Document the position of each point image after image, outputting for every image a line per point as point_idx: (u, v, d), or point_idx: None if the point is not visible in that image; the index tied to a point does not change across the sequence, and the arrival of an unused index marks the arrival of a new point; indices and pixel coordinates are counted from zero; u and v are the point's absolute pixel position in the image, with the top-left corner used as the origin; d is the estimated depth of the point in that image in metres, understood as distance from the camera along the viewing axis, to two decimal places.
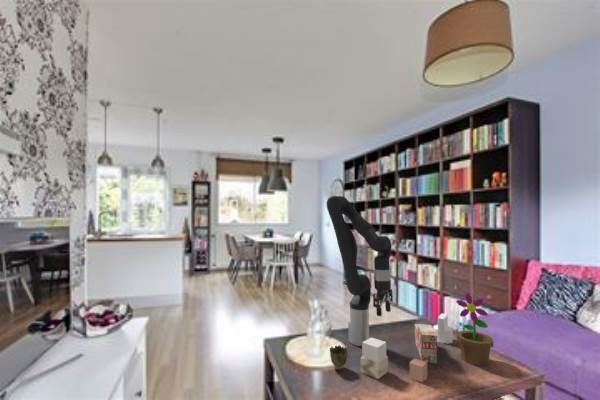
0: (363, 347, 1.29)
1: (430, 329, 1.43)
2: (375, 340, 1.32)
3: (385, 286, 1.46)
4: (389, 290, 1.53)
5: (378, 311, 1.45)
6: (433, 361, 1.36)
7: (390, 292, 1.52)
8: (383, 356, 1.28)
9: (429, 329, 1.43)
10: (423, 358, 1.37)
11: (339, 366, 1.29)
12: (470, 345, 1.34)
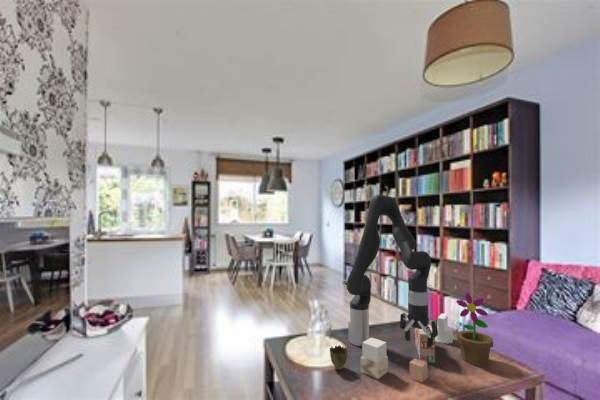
0: (363, 347, 1.29)
1: None
2: (375, 340, 1.31)
3: None
4: None
5: (432, 341, 1.22)
6: (431, 361, 1.37)
7: None
8: (383, 356, 1.28)
9: None
10: (421, 357, 1.38)
11: (339, 366, 1.29)
12: (470, 345, 1.34)
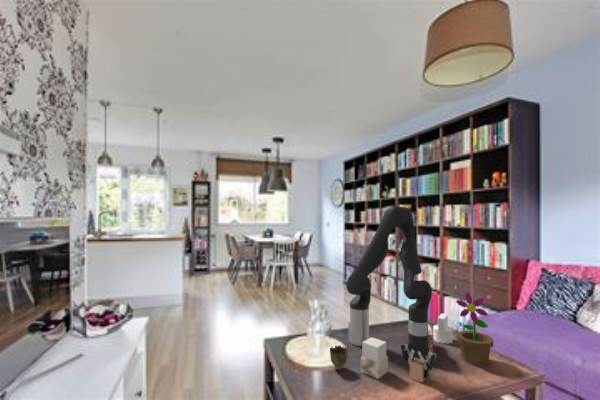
0: (363, 347, 1.29)
1: (428, 328, 1.43)
2: (375, 339, 1.32)
3: None
4: None
5: (428, 372, 1.22)
6: (429, 360, 1.37)
7: None
8: (383, 356, 1.28)
9: None
10: None
11: (339, 366, 1.29)
12: (470, 345, 1.34)
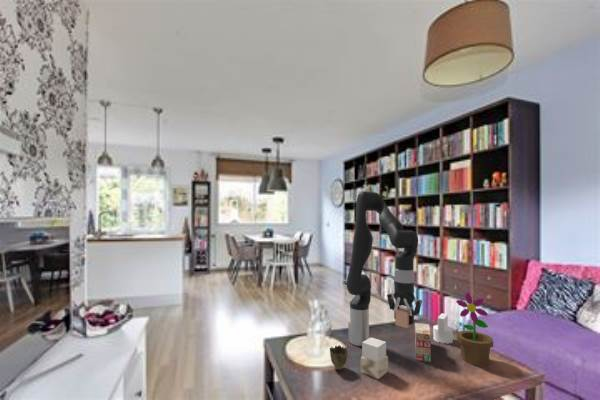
0: (363, 347, 1.29)
1: (426, 328, 1.44)
2: (374, 339, 1.32)
3: None
4: None
5: (413, 319, 1.25)
6: (427, 359, 1.38)
7: (393, 296, 1.31)
8: (383, 356, 1.28)
9: (425, 328, 1.44)
10: (417, 356, 1.39)
11: (339, 366, 1.29)
12: (470, 345, 1.34)
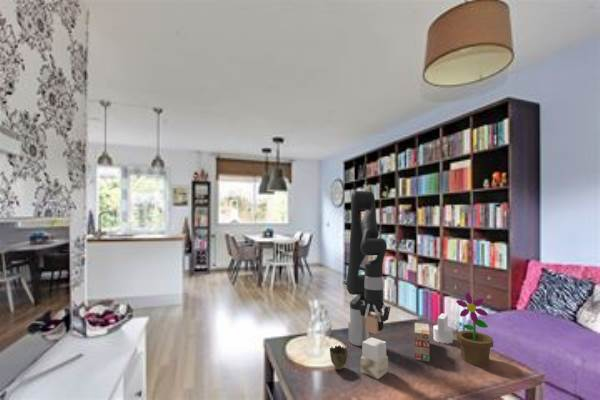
0: (363, 347, 1.29)
1: (425, 328, 1.44)
2: (375, 339, 1.32)
3: None
4: None
5: (382, 325, 1.27)
6: (426, 359, 1.38)
7: None
8: (383, 356, 1.28)
9: (424, 328, 1.44)
10: (416, 356, 1.39)
11: (339, 366, 1.29)
12: (470, 345, 1.34)
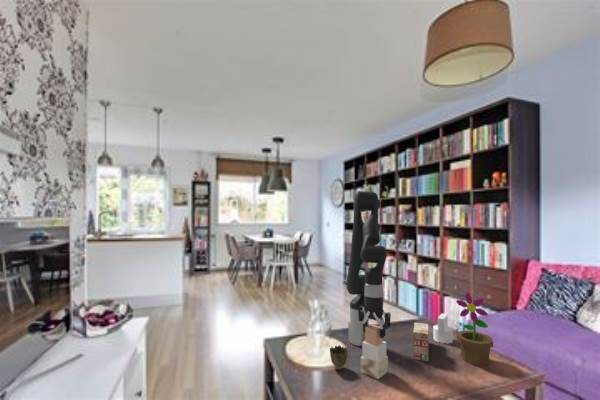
0: (363, 347, 1.29)
1: (424, 328, 1.44)
2: None
3: None
4: None
5: (384, 332, 1.26)
6: (424, 359, 1.38)
7: None
8: (383, 356, 1.28)
9: (423, 327, 1.44)
10: (415, 355, 1.40)
11: (339, 366, 1.29)
12: (470, 345, 1.34)
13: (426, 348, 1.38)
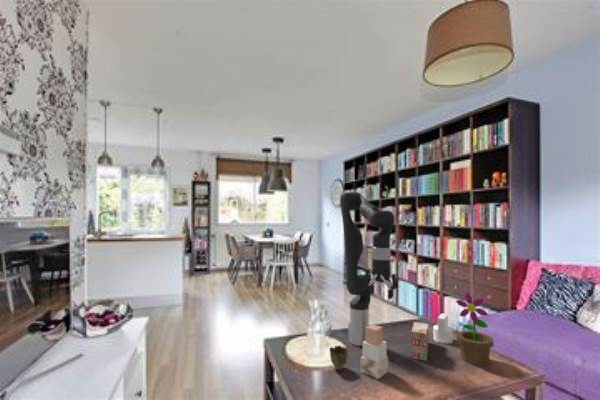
0: (363, 347, 1.29)
1: (423, 327, 1.45)
2: None
3: None
4: None
5: (392, 293, 1.30)
6: (423, 358, 1.39)
7: None
8: (383, 356, 1.28)
9: (422, 327, 1.45)
10: (413, 354, 1.40)
11: (339, 366, 1.29)
12: (470, 345, 1.34)
13: (424, 348, 1.39)
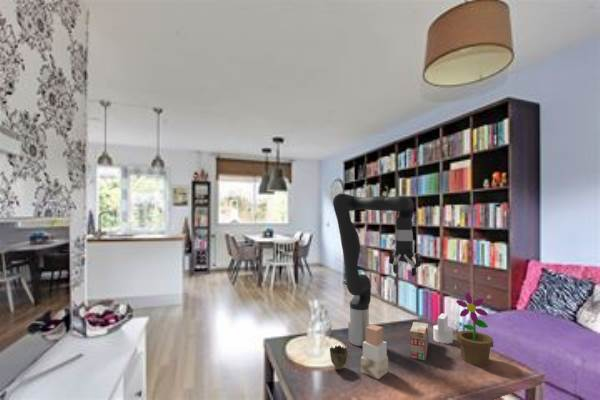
0: (364, 347, 1.29)
1: (422, 327, 1.45)
2: None
3: None
4: None
5: (415, 271, 1.43)
6: (421, 358, 1.39)
7: (394, 253, 1.51)
8: (383, 356, 1.28)
9: (421, 327, 1.45)
10: (411, 354, 1.41)
11: (339, 366, 1.29)
12: (470, 345, 1.34)
13: (423, 347, 1.39)
